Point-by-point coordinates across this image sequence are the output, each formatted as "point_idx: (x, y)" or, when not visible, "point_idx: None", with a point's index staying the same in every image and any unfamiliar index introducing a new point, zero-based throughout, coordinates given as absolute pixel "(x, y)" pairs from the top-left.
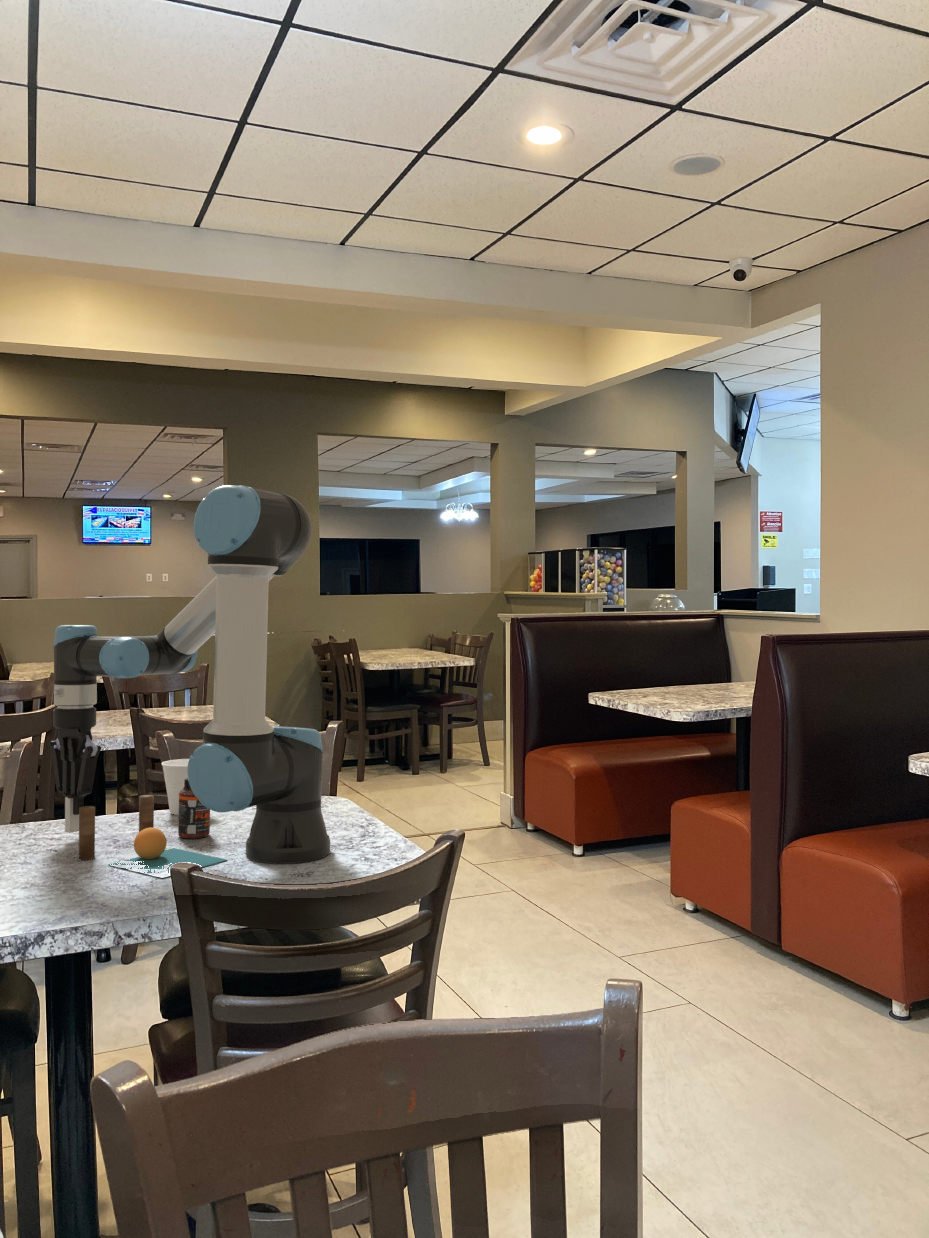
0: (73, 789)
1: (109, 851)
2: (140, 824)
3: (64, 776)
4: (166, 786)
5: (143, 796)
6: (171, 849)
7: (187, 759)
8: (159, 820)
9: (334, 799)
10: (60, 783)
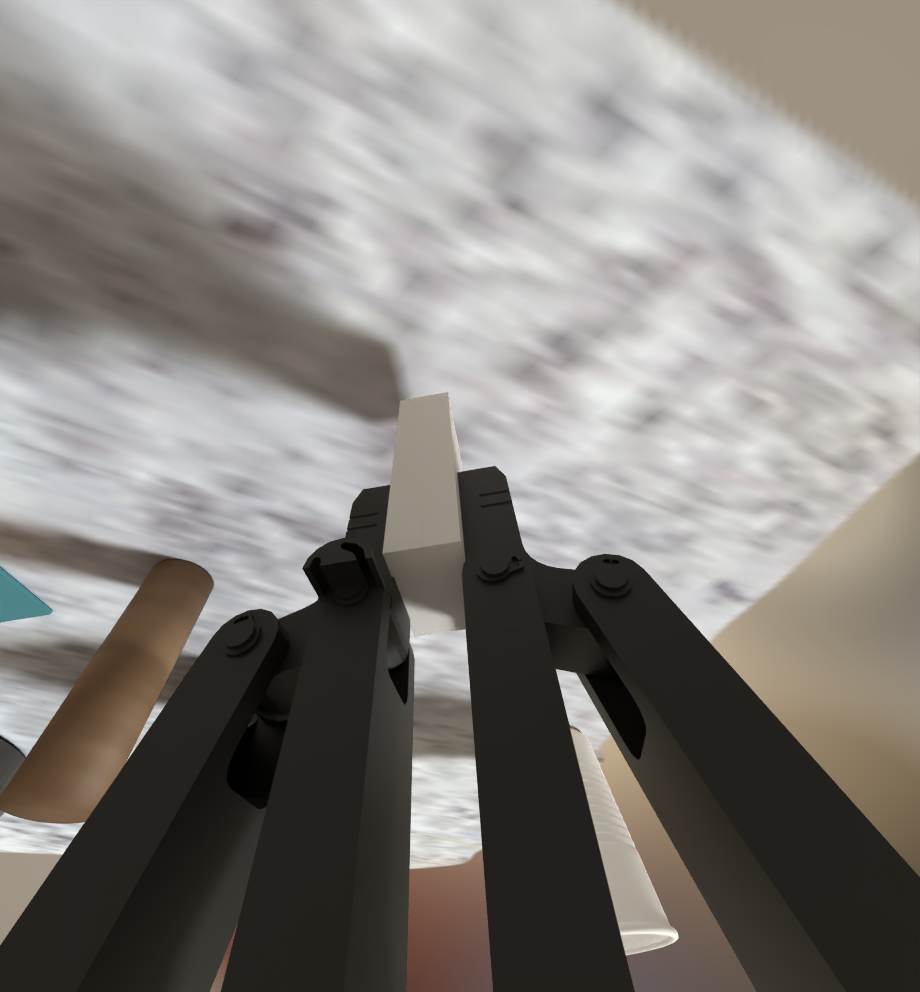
0: (331, 644)
1: (102, 443)
2: (116, 636)
3: (529, 770)
4: (597, 820)
5: (49, 801)
6: (24, 602)
7: (640, 949)
8: None
9: (424, 867)
10: (609, 646)
